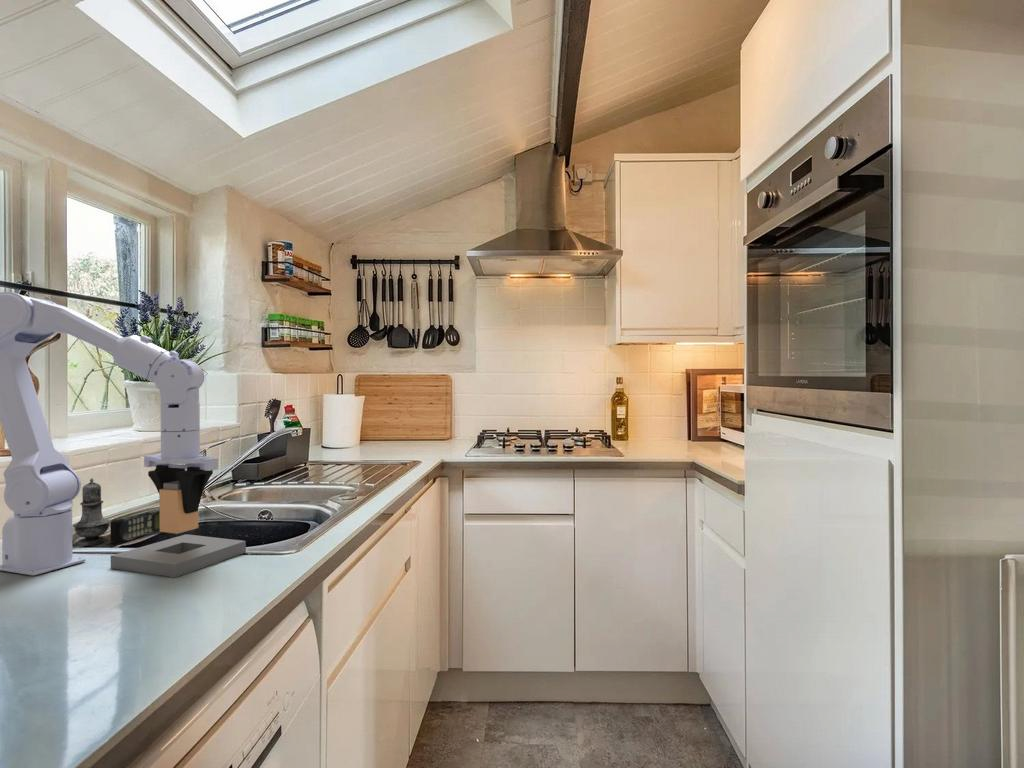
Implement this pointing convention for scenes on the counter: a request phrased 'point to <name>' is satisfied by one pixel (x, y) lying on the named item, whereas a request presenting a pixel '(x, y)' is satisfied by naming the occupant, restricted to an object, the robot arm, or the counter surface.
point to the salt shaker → (91, 517)
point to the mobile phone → (135, 525)
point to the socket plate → (178, 555)
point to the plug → (174, 510)
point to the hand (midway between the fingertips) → (181, 511)
